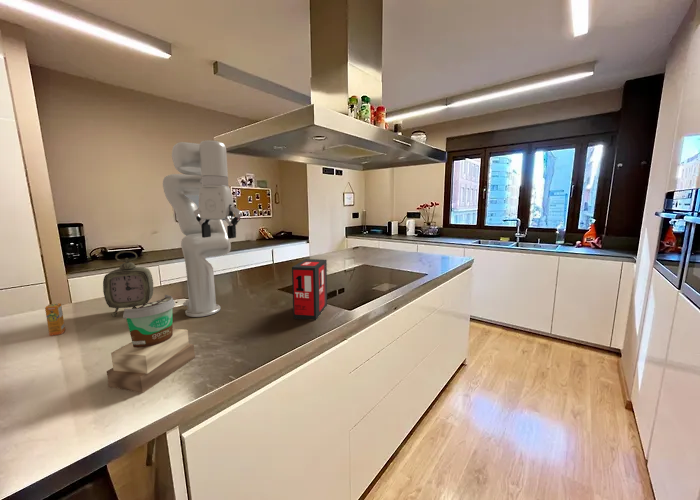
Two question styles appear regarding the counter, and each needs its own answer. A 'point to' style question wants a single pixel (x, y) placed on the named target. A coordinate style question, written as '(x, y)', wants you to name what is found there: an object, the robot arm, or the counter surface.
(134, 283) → the tabletop clock
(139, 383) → the tower base block
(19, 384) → the counter surface
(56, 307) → the supplement box
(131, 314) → the food container
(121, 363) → the tower top block
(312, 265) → the cleaning product box
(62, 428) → the counter surface
